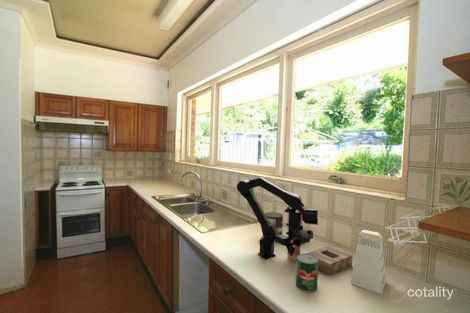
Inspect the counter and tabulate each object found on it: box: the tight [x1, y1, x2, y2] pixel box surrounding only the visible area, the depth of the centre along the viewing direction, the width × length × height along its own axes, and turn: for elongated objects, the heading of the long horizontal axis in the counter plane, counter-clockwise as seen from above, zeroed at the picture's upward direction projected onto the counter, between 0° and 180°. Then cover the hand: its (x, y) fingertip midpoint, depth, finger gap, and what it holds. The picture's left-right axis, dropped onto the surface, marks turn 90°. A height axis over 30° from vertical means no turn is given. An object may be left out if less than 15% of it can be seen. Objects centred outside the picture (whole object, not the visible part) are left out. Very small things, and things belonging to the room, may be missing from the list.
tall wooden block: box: [287, 244, 301, 264], centre depth 114 cm, size 3×5×7 cm, turn 33°
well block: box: [306, 245, 354, 277], centre depth 110 cm, size 16×12×5 cm
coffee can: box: [265, 211, 284, 243], centre depth 139 cm, size 10×10×14 cm
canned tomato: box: [295, 253, 319, 293], centre depth 93 cm, size 8×8×11 cm
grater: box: [350, 229, 387, 295], centre depth 96 cm, size 10×10×20 cm
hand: (293, 255), depth 114 cm, fingers open, 3 cm apart
